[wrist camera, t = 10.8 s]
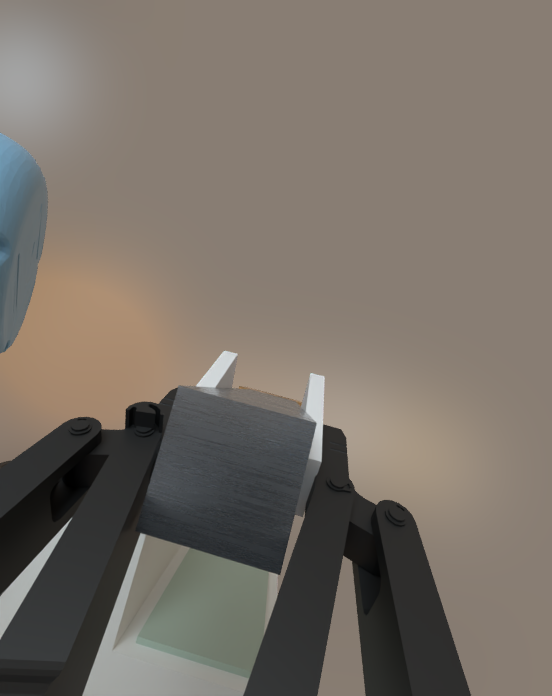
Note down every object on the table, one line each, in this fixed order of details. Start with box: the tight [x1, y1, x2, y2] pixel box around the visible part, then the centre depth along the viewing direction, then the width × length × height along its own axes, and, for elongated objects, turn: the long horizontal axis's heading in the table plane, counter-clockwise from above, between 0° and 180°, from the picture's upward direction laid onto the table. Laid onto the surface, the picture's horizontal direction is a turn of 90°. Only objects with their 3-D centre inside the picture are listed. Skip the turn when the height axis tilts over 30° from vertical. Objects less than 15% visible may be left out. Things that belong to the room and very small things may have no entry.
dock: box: [0, 518, 278, 696], centre depth 26 cm, size 14×20×30 cm
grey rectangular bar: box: [135, 386, 317, 575], centre depth 21 cm, size 24×6×4 cm, turn 178°
